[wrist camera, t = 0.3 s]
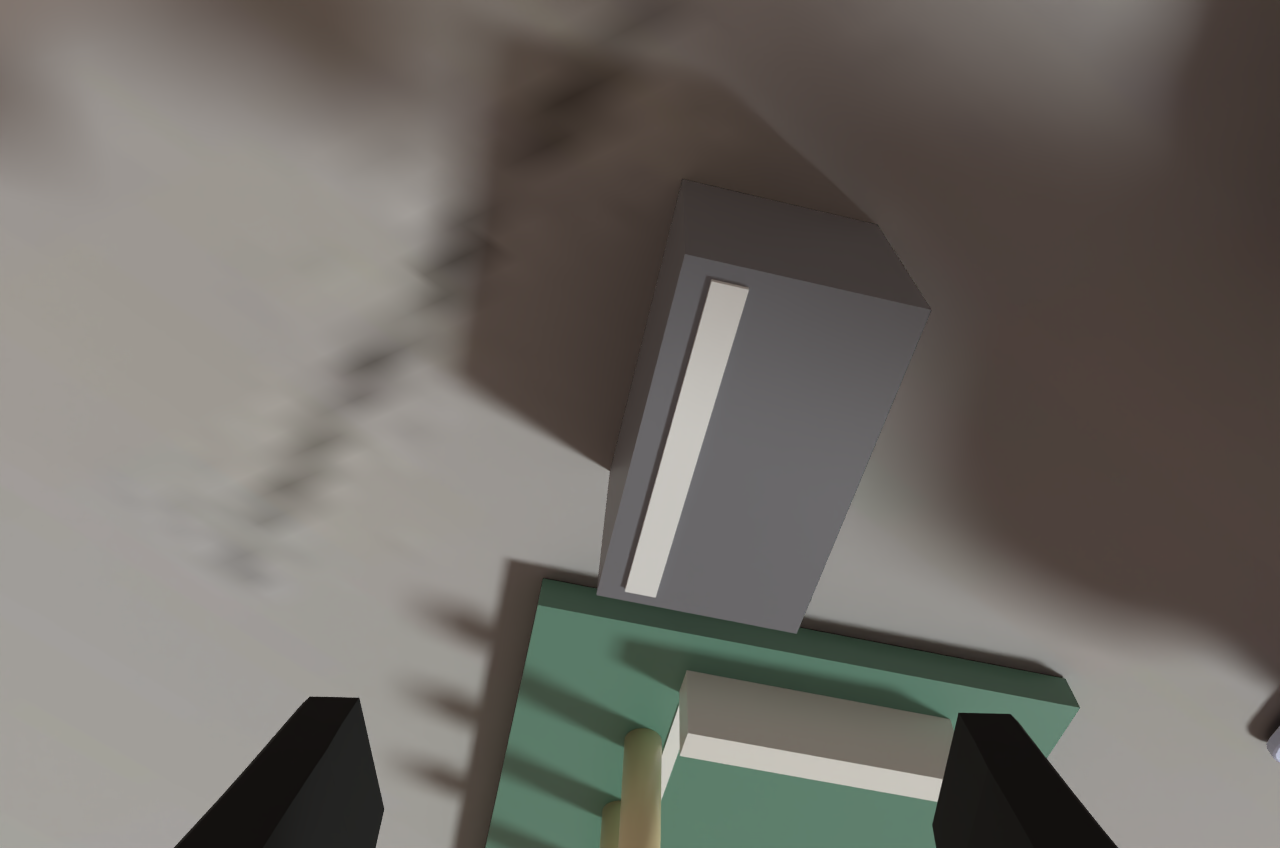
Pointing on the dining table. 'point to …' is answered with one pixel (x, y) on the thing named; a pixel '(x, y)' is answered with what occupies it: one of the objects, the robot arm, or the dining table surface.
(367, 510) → the dining table surface
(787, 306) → the block
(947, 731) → the header board
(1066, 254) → the dining table surface
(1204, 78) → the dining table surface
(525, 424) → the dining table surface
